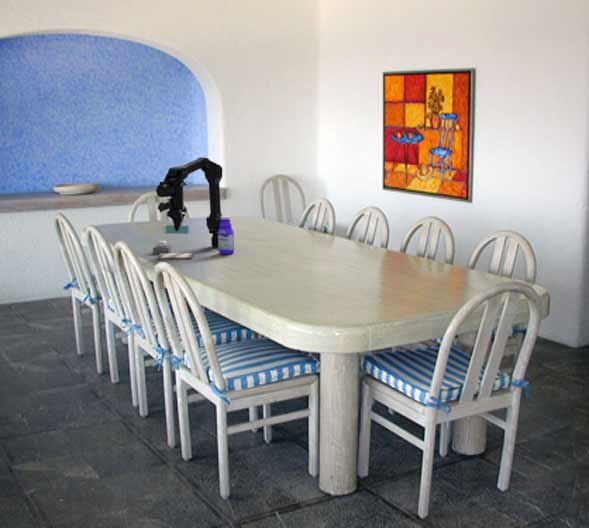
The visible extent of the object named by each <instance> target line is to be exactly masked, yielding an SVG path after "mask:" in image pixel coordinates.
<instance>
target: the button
mask: <svg viewBox="0 0 589 528" xmlns="http://www.w3.org/2000/svg"><path fill="white" fill-rule="evenodd" d="M156 245H157V246H158V247H166V245H167V240H158V241H157V244H156Z"/></svg>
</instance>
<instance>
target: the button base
mask: <svg viewBox="0 0 589 528" xmlns="http://www.w3.org/2000/svg"><path fill="white" fill-rule="evenodd" d="M160 253H172V246H171V244H166V247H158V246H157V244H155V245H154V246H153V247H152V254H153V255H159V254H160Z"/></svg>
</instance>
